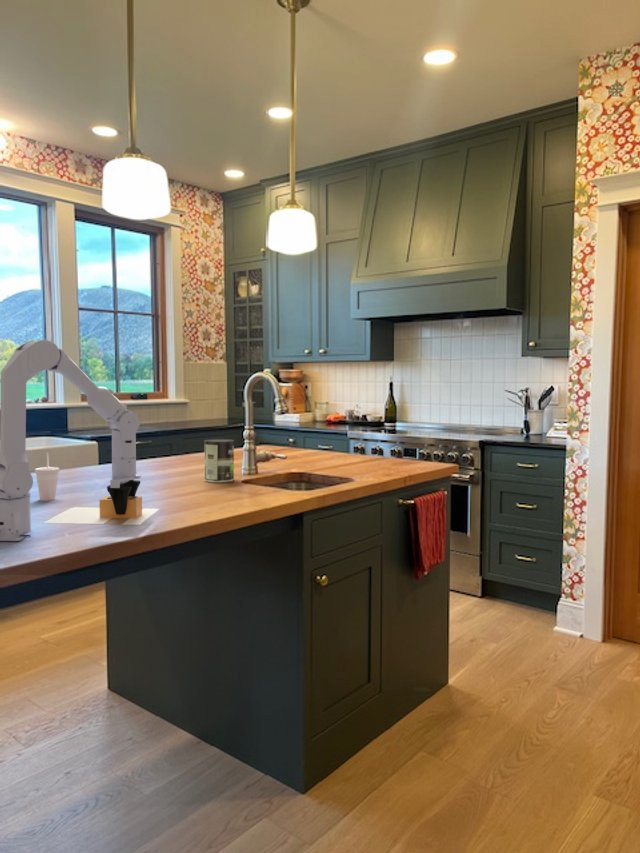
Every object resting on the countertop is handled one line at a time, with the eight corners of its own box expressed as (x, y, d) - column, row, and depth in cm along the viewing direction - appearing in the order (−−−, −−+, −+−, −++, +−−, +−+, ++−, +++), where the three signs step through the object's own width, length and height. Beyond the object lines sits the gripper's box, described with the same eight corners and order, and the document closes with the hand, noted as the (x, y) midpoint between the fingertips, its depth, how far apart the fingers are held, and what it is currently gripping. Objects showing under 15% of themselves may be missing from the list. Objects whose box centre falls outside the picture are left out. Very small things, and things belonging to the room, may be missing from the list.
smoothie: (63, 500, 179) (62, 451, 178) (54, 505, 173) (54, 454, 172) (40, 500, 179) (40, 451, 178) (31, 504, 173) (30, 454, 172)
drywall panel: (139, 528, 148) (139, 524, 148) (42, 527, 148) (42, 522, 148) (159, 512, 166) (159, 508, 166) (72, 510, 166) (72, 507, 166)
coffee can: (236, 478, 224) (236, 439, 223) (231, 483, 213) (231, 441, 212) (207, 477, 224) (207, 438, 223) (201, 482, 214) (201, 441, 213)
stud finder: (136, 518, 154) (136, 499, 154) (99, 517, 154) (99, 498, 154) (142, 513, 159) (141, 495, 159) (106, 513, 159) (106, 494, 159)
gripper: (131, 461, 148) (131, 518, 150) (148, 454, 163) (148, 506, 164) (101, 461, 148) (101, 518, 150) (121, 454, 163) (121, 505, 164)
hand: (124, 511), depth 157 cm, fingers closed on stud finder, 5 cm apart
